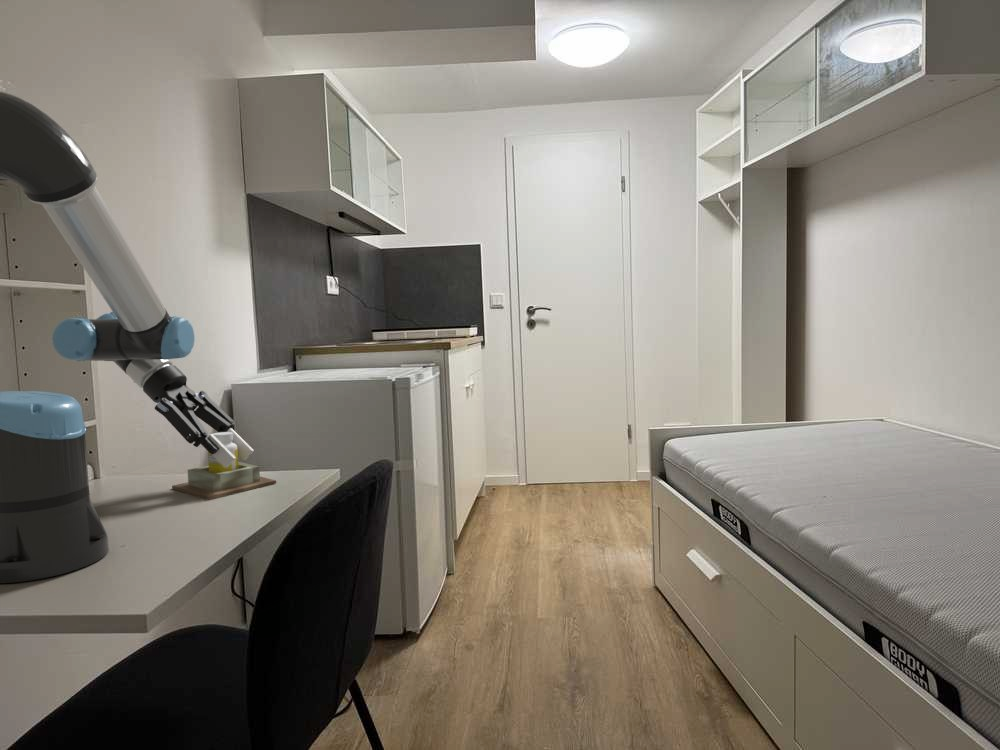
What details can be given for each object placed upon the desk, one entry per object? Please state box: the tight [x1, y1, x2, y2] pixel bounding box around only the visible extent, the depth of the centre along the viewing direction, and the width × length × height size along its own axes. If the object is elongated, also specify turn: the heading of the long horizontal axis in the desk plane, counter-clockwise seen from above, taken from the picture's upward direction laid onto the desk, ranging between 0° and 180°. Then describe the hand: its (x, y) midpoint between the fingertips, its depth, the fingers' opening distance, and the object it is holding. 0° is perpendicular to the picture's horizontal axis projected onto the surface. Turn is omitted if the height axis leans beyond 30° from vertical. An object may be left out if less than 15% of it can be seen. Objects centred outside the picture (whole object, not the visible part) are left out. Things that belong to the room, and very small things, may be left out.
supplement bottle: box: [207, 432, 239, 474], centre depth 129 cm, size 5×5×10 cm
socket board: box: [171, 461, 277, 501], centre depth 129 cm, size 14×14×4 cm
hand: (239, 458), depth 128 cm, fingers open, 6 cm apart
